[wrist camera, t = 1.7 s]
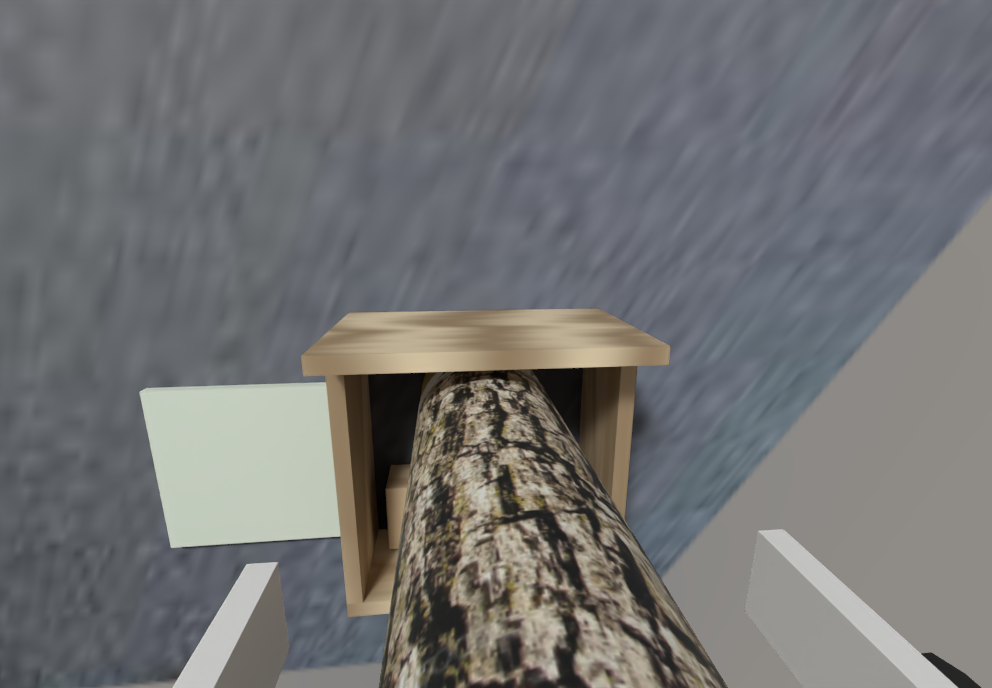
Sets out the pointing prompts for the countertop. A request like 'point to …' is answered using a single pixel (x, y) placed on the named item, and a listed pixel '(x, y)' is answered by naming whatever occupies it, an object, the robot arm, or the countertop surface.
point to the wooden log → (522, 557)
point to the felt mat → (243, 462)
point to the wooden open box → (466, 347)
